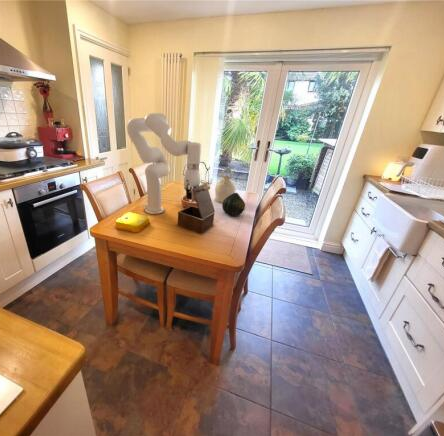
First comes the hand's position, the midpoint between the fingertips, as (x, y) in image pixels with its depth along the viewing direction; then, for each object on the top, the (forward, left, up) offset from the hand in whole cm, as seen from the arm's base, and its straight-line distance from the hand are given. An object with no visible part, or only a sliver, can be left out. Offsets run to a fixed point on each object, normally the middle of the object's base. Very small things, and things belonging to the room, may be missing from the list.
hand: (191, 197), depth 135 cm
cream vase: (+12, +50, -17) cm, 54 cm away
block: (0, 0, 0) cm, 0 cm away
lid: (+8, -2, 0) cm, 8 cm away
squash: (+22, +27, -17) cm, 39 cm away
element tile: (-30, -16, -17) cm, 38 cm away
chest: (+4, -1, -17) cm, 18 cm away
